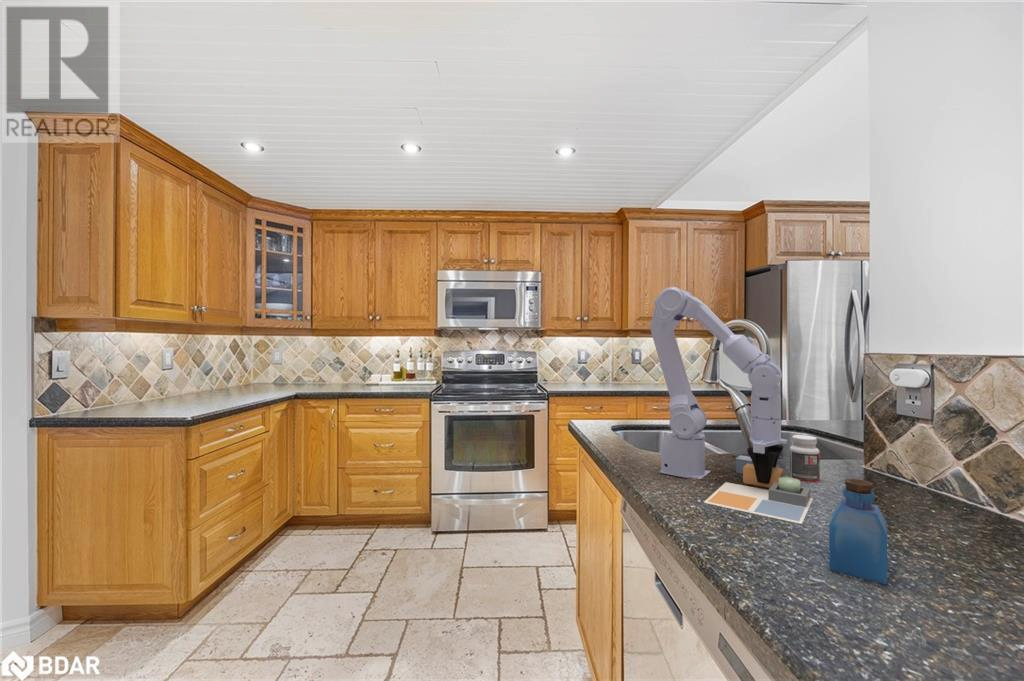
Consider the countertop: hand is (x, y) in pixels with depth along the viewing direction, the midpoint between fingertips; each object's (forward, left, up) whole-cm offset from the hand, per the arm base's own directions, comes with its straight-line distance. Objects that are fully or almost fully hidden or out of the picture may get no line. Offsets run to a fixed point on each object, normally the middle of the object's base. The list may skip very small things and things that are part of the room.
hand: (765, 480), depth 98 cm
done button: (+5, -7, +1) cm, 9 cm away
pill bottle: (+6, +10, -2) cm, 12 cm away
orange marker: (-1, 0, -1) cm, 1 cm away
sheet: (+1, -12, -1) cm, 12 cm away
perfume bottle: (+17, -31, -2) cm, 35 cm away
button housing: (+5, -7, -1) cm, 9 cm away
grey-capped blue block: (-4, +7, -2) cm, 8 cm away
